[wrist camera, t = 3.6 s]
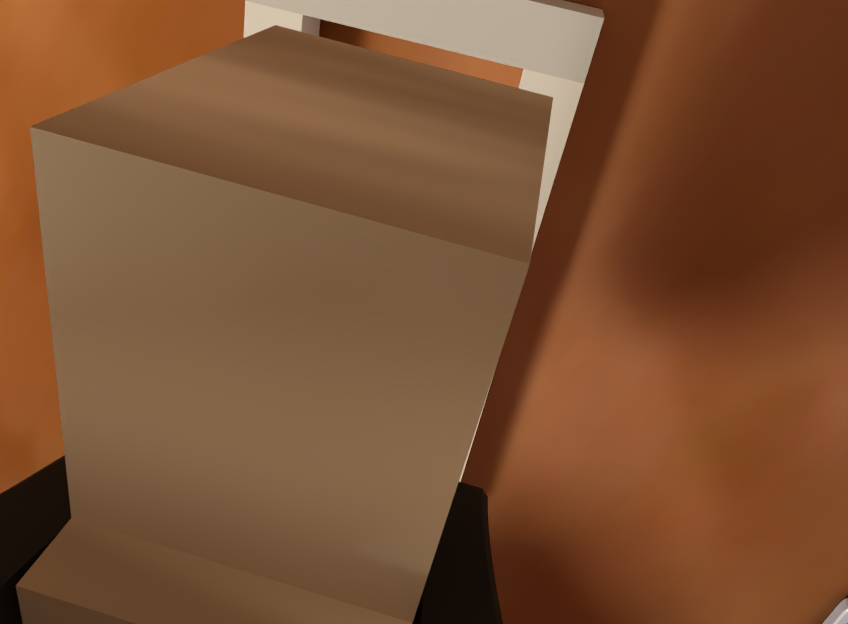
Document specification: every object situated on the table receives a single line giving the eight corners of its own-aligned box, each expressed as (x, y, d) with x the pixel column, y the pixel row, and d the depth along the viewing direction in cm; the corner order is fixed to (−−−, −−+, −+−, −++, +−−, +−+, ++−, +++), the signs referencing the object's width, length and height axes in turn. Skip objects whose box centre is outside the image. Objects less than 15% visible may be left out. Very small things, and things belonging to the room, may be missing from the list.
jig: (451, 502, 21) (444, 532, 20) (239, 441, 22) (222, 468, 21) (602, 9, 14) (604, 18, 13) (272, -69, 14) (248, -67, 13)
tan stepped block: (392, 629, 14) (305, 965, 10) (229, 579, 14) (70, 886, 10) (552, 97, 8) (519, 328, 4) (275, 25, 9) (-61, 164, 4)
